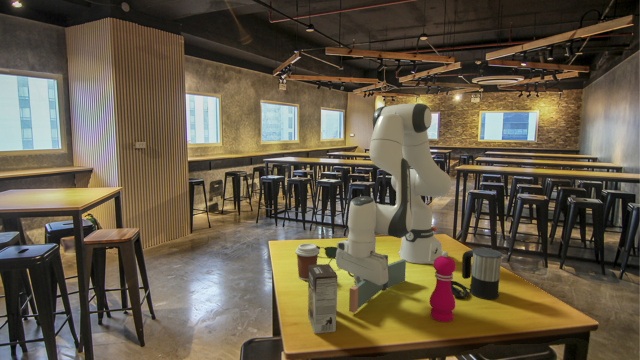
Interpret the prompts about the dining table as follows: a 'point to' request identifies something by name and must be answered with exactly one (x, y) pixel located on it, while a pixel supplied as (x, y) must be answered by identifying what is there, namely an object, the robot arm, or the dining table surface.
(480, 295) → the milk frother
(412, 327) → the dining table surface
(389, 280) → the fence
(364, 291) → the grey-green hurdle bar
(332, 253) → the sunglasses
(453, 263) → the pepper mill
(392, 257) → the dining table surface
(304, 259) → the coffee cup
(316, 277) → the coffee box
